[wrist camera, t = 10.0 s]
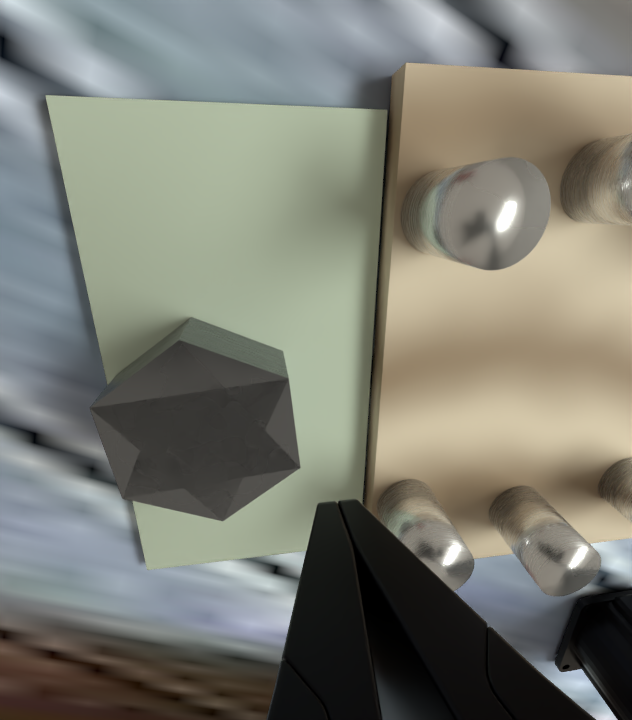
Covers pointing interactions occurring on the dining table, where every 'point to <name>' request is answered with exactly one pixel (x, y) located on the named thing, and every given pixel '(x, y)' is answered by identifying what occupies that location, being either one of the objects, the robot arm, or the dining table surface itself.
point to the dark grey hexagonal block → (199, 422)
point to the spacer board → (503, 312)
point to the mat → (236, 274)
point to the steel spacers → (494, 252)
